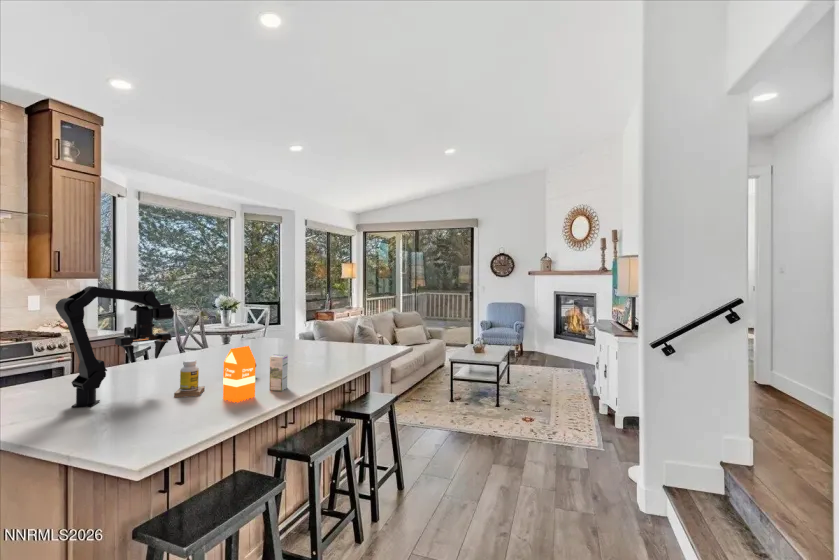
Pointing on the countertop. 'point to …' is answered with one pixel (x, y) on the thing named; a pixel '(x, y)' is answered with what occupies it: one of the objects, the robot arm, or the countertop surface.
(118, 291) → the robot arm
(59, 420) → the countertop surface
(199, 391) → the base tile
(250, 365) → the orange juice
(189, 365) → the pill bottle
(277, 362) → the syrup box
